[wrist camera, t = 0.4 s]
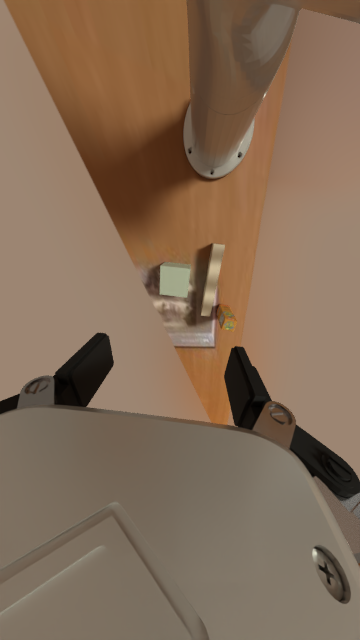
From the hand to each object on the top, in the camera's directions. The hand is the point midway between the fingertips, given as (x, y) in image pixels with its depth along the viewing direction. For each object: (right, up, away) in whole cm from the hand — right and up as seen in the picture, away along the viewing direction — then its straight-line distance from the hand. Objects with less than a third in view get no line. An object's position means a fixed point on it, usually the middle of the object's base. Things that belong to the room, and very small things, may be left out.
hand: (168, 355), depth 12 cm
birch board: (+9, +14, +30) cm, 34 cm away
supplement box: (+14, +6, +34) cm, 37 cm away
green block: (0, +15, +30) cm, 34 cm away
